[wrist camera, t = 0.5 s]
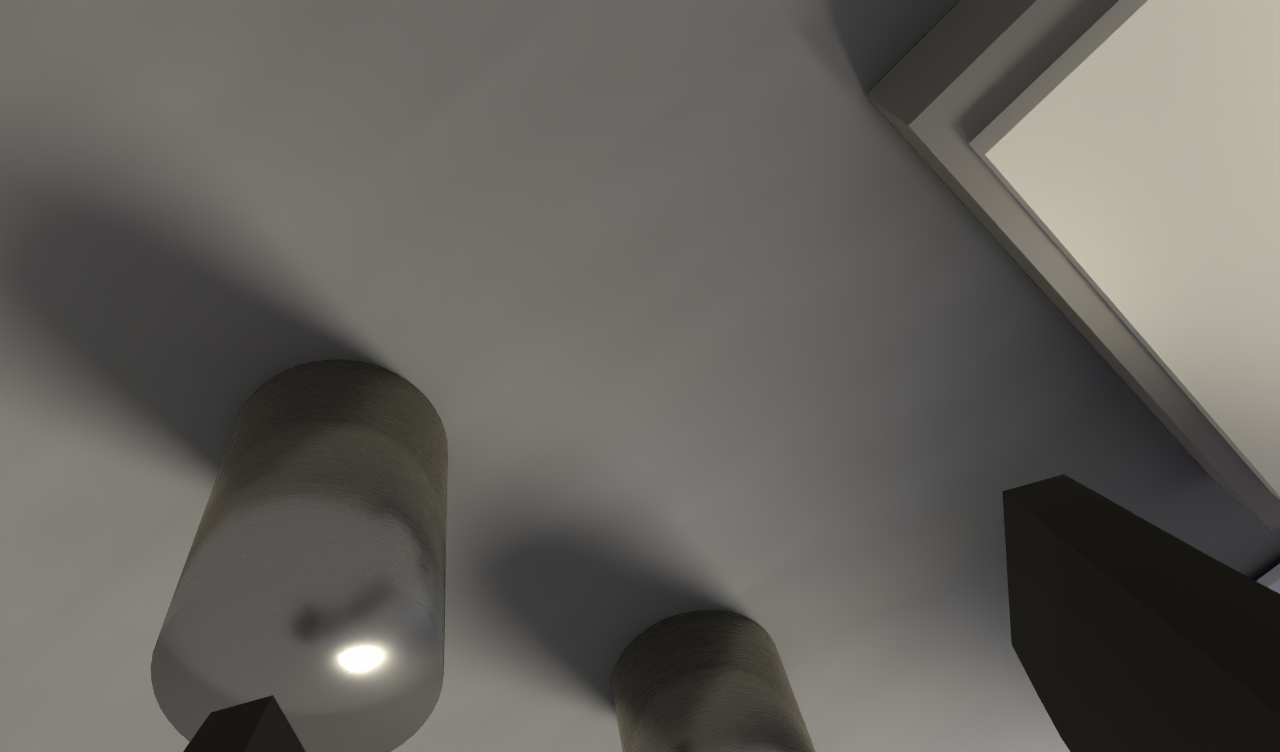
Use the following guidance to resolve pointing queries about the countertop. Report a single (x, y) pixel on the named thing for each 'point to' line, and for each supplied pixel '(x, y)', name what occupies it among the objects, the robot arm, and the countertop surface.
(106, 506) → the countertop surface
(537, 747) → the countertop surface
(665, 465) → the countertop surface
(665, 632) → the cylinder
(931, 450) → the countertop surface
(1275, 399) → the kitchen scale
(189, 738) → the cylinder
